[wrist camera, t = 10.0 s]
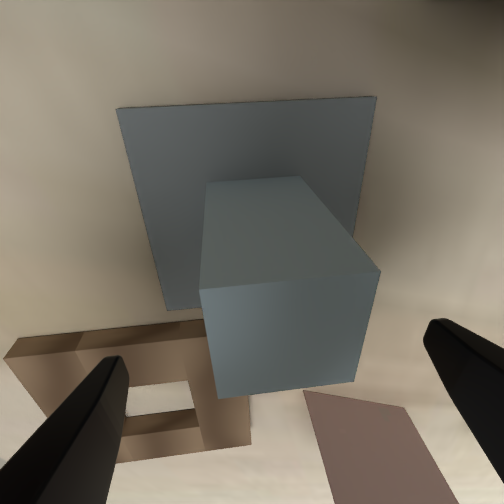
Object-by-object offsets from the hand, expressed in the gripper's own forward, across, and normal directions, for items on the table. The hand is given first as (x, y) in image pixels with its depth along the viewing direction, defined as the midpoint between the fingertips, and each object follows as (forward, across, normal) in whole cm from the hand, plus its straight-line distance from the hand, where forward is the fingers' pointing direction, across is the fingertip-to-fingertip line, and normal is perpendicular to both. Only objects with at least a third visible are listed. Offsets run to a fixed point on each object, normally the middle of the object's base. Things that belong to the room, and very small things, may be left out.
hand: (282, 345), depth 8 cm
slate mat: (+8, 0, 0) cm, 8 cm away
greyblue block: (+8, 0, 0) cm, 8 cm away
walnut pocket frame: (+8, +8, +14) cm, 18 cm away
